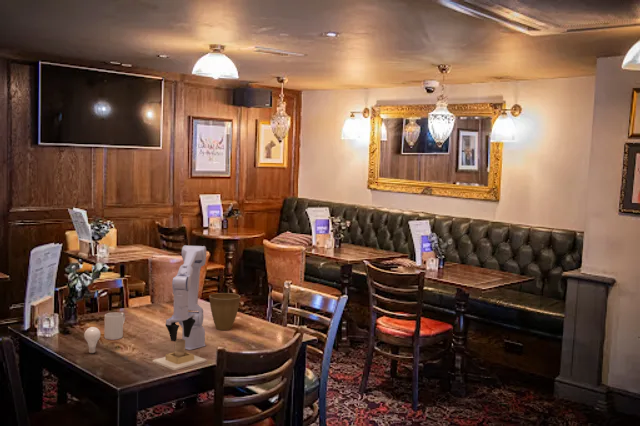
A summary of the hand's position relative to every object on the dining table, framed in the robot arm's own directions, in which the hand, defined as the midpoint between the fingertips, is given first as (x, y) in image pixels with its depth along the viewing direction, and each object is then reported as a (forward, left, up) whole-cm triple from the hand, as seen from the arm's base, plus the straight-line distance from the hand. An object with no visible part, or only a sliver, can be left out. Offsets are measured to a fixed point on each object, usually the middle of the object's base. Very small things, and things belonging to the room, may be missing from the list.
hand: (180, 338), depth 261 cm
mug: (-2, -48, -10) cm, 49 cm away
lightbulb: (+19, -33, -10) cm, 39 cm away
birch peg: (0, 0, -9) cm, 9 cm away
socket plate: (0, 0, -9) cm, 9 cm away
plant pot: (-47, -26, -10) cm, 55 cm away
